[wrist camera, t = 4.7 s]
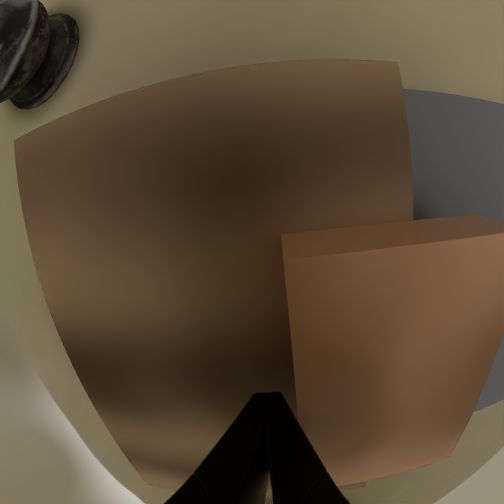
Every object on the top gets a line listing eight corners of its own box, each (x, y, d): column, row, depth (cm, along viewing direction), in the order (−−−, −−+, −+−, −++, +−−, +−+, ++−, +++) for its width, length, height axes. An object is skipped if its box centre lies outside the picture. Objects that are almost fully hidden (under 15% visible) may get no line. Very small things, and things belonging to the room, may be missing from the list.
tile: (434, 424, 9) (449, 456, 7) (300, 451, 10) (301, 490, 8) (478, 214, 7) (520, 230, 5) (280, 234, 7) (282, 260, 6)
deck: (355, 440, 14) (364, 486, 11) (162, 443, 16) (147, 484, 12) (362, 88, 9) (397, 62, 6) (69, 139, 10) (14, 140, 7)
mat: (506, 394, 13) (508, 396, 13) (355, 440, 14) (356, 444, 14) (551, 119, 8) (554, 119, 8) (362, 88, 9) (364, 87, 9)
